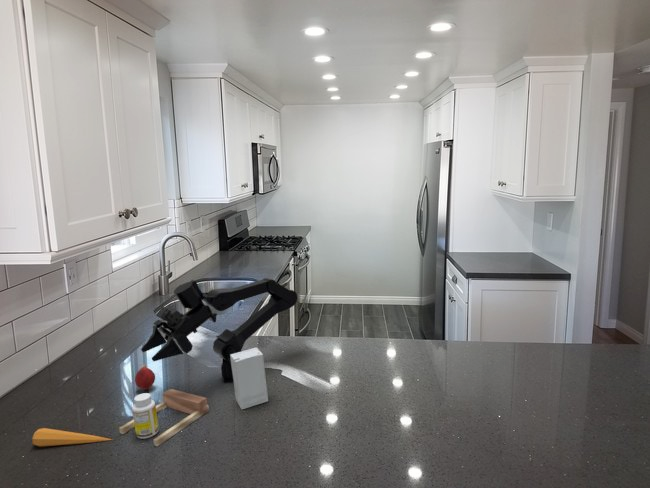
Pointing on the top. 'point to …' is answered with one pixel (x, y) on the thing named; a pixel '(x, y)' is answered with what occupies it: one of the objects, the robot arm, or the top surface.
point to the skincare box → (249, 378)
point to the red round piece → (144, 378)
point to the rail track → (181, 403)
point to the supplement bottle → (145, 416)
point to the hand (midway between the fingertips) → (147, 355)
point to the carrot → (62, 438)
